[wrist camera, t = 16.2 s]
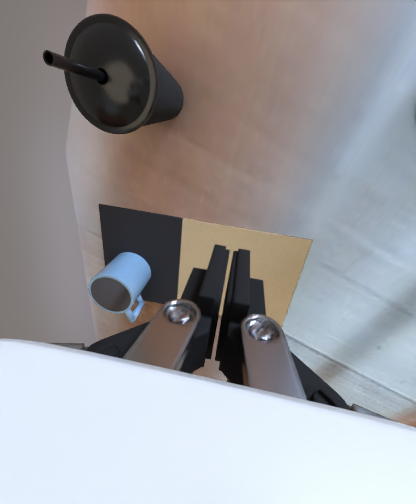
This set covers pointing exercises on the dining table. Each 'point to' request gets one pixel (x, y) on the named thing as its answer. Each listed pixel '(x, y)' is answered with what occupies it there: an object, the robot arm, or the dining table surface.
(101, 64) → the drinking cup
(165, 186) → the dining table surface
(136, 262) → the mug
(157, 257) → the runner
